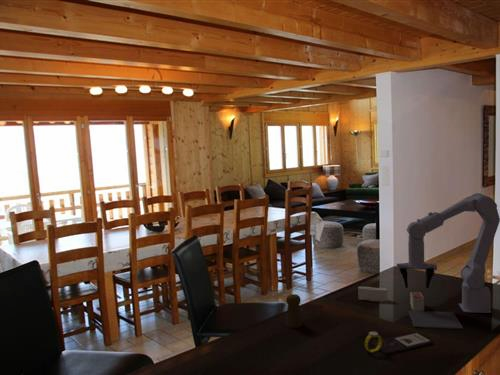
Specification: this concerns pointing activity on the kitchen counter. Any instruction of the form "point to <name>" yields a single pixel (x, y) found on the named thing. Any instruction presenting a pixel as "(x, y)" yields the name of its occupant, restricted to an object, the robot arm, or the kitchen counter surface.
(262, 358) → the kitchen counter surface
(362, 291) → the napkin holder
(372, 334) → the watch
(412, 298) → the card box
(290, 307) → the cork
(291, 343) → the kitchen counter surface
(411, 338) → the chocolate bar
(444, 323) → the rubber mat
